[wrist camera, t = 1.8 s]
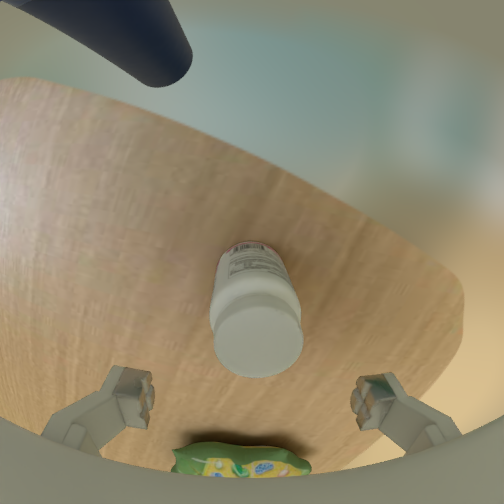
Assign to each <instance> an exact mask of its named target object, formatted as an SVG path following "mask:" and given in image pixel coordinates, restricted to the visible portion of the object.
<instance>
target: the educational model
mask: <svg viewBox="0 0 504 504" xmlns="http://www.w3.org/2000/svg"><path fill="white" fill-rule="evenodd" d="M172 451H173V453H174V455H175V457H176V464H175V465H174V466H173V467H172V469H171V472H174V473H181V474H190V475H200V476H212V477H231V478H270V477H289V476H302V475H308V474H309V473H310V472H311V468H312V467H311V465H310V463H309V462H308V461H306V460H304V459H300V458H298V457H297V456H296V455H295V454H293V453H292V452H290V451H288V450H286V449H284V448H279V447H272V446H239V445H232V444H226V443H221V442H199V443H194V444H191V445H188V446H185V447H183V448H179V449H174V450H172Z"/></svg>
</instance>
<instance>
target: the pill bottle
mask: <svg viewBox="0 0 504 504" xmlns="http://www.w3.org/2000/svg"><path fill="white" fill-rule="evenodd" d="M209 319H210V326H211V329H212V331H213V334H214V350H215V353H216V356H217V358H218V360H219V361H220V362H221V364H222V365H223V366H224V367H225V368H227V369H228V370H230V371H231V372H233V373H235V374H237V375H240V376H243V377H249V378H264V377H269V376H273V375H276V374H278V373H281V372H282V371H284V370H286V369H287V368H289V367H290V366H291V365H292V364H293V363H294V362H295V361H296V360H297V358H298V357H299V355H300V353H301V351H302V347H303V332H302V329H301V325H300V321H301V307H300V303H299V300H298V297H297V295H296V293H295V290H294V288H293V285H292V283H291V281H290V278H289V276H288V273H287V271H286V268H285V266H284V263H283V261H282V259H281V258H280V256H279V255H278V254H277V252H276V251H275V250H273V249H272V248H271V247H269V246H267V245H265V244H263V243H260V242H253V241H249V242H242V243H239V244H236V245H234V246H232V247H231V248H229V249H228V250H227V251H226V252H225V253H224V254H223V255H222V257H221V258H220V260H219V262H218V265H217V268H216V273H215V282H214V288H213V294H212V299H211V304H210V311H209Z"/></svg>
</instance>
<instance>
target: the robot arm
mask: <svg viewBox="0 0 504 504" xmlns="http://www.w3.org/2000/svg"><path fill="white" fill-rule="evenodd" d="M151 382H152V375H151V372H150V371H144V370H139V369H133V368H128V367H121V366H117V365H114V366H113V367H112V368H111V370H110V372H109V374H108V375H107V377H106V379H105V381H104V383H103V385H102V387H101V389H100V391H99V392H98V391H95V392H93V393H92V394H90V395H88V396H86V397H84V398H82V399H81V400H79V401H77V402H75V403H73V404H71V405H69V406H68V407H66V408H64V409H62V410H60V411H58V412H56V413H54V414H52V416H51V418H50V420H49V422H48V423H47V425H46V427H45V429H44V431H43V432H42V434H41V436H40V435H37V434H35V433H33V432H31V431H29V430H26V429H24V428H22V427H20V426H18V425H16V424H14V423H12V422H10V421H8V420H6V419H4V418H2V417H1V416H0V504H504V415H503V416H501V417H499V418H497V419H495V420H494V421H492V422H490V423H488V424H486V425H484V426H481V427H479V428H477V429H475V430H473V431H471V432H469V433H466V434H464V435H462V434H461V432H460V431H459V429H458V428H457V426H456V425H455V423H454V422H453V420H452V419H451V417H449V416H447V415H445V414H443V413H441V412H439V411H437V410H436V409H434V408H432V407H430V406H428V405H426V404H425V403H423V402H421V401H419V400H417V399H415V398H414V397H412V396H408V395H407V394H406V392H405V391H404V389H403V388H402V386H401V384H400V383H399V381H398V380H397V378H396V377H395V375H394V374H393V373H392V372H390V373H383V374H376V375H367V376H360V377H359V378H358V379H357V382H356V385H357V388H356V389H354V390H353V392H352V394H351V399H350V404H351V408H352V411H353V412H354V413H355V414H357V415H358V416H357V418H356V421H357V423H358V426H359V428H360V431H363V430H370V429H376V428H379V430H380V431H381V432H382V433H384V434H385V435H386V436H387V437H389V438H390V439H391V440H392V441H393V442H395V443H396V444H397V445H398V446H400V447H401V448H402V449H403V450H405V451H406V453H405V455H404V456H403V457H399V458H396V459H392V460H388V461H384V462H380V463H376V464H372V465H367V466H362V467H358V468H352V469H347V470H341V471H334V472H328V473H320V474H312V475H302V476H289V477H270V478H231V477H212V476H200V475H190V474H181V473H174V472H167V471H160V470H155V469H149V468H144V467H139V466H134V465H130V464H125V463H121V462H117V461H113V460H109V459H106V458H102V456H101V454H100V453H99V451H98V450H99V449H101V448H102V447H103V446H104V445H106V444H107V443H108V442H109V441H110V440H112V439H113V438H114V437H115V436H116V435H118V434H119V433H120V432H121V431H122V430H123V429H125V428H126V426H128V427H134V428H140V429H147V427H148V423H149V420H150V414H149V411H150V410H152V409H153V405H154V399H155V391H154V387H153V386H152V385H151Z"/></svg>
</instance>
